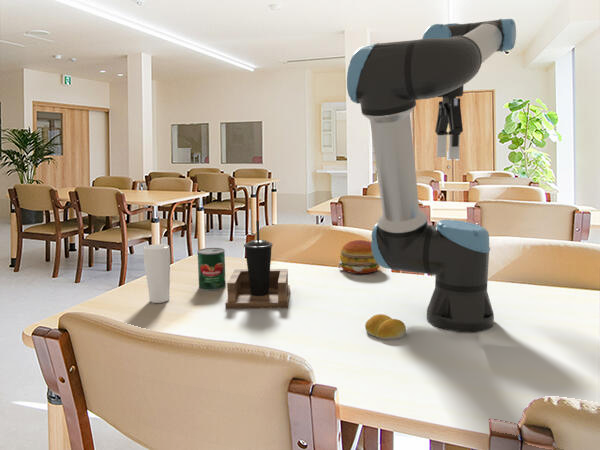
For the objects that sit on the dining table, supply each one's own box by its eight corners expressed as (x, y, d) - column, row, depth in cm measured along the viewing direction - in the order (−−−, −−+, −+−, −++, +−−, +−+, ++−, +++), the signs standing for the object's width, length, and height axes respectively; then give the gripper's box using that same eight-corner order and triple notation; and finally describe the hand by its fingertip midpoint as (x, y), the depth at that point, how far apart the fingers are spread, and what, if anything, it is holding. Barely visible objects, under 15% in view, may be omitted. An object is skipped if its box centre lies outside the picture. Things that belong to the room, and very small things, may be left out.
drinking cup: (261, 287, 147) (259, 217, 144) (279, 293, 142) (278, 220, 139) (239, 293, 142) (237, 221, 139) (257, 299, 137) (255, 224, 133)
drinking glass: (177, 300, 142) (174, 246, 139) (155, 306, 137) (152, 250, 134) (163, 295, 146) (160, 243, 144) (141, 301, 142) (138, 246, 139)
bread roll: (390, 344, 111) (391, 326, 110) (359, 333, 117) (359, 316, 117) (414, 334, 116) (414, 317, 115) (383, 324, 123) (383, 307, 122)
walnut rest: (287, 308, 134) (287, 283, 133) (225, 308, 134) (224, 284, 133) (289, 290, 150) (289, 268, 149) (234, 290, 150) (233, 268, 149)
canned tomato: (206, 292, 149) (204, 254, 147) (194, 286, 155) (192, 250, 153) (230, 287, 153) (229, 250, 152) (218, 281, 160) (216, 246, 158)
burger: (379, 276, 163) (380, 245, 162) (336, 275, 166) (336, 244, 164) (380, 266, 176) (381, 237, 175) (340, 265, 179) (340, 236, 177)
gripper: (426, 86, 161) (424, 156, 164) (448, 77, 136) (445, 159, 140) (451, 86, 161) (448, 156, 164) (477, 77, 136) (473, 159, 140)
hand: (447, 158), depth 152 cm, fingers open, 13 cm apart
